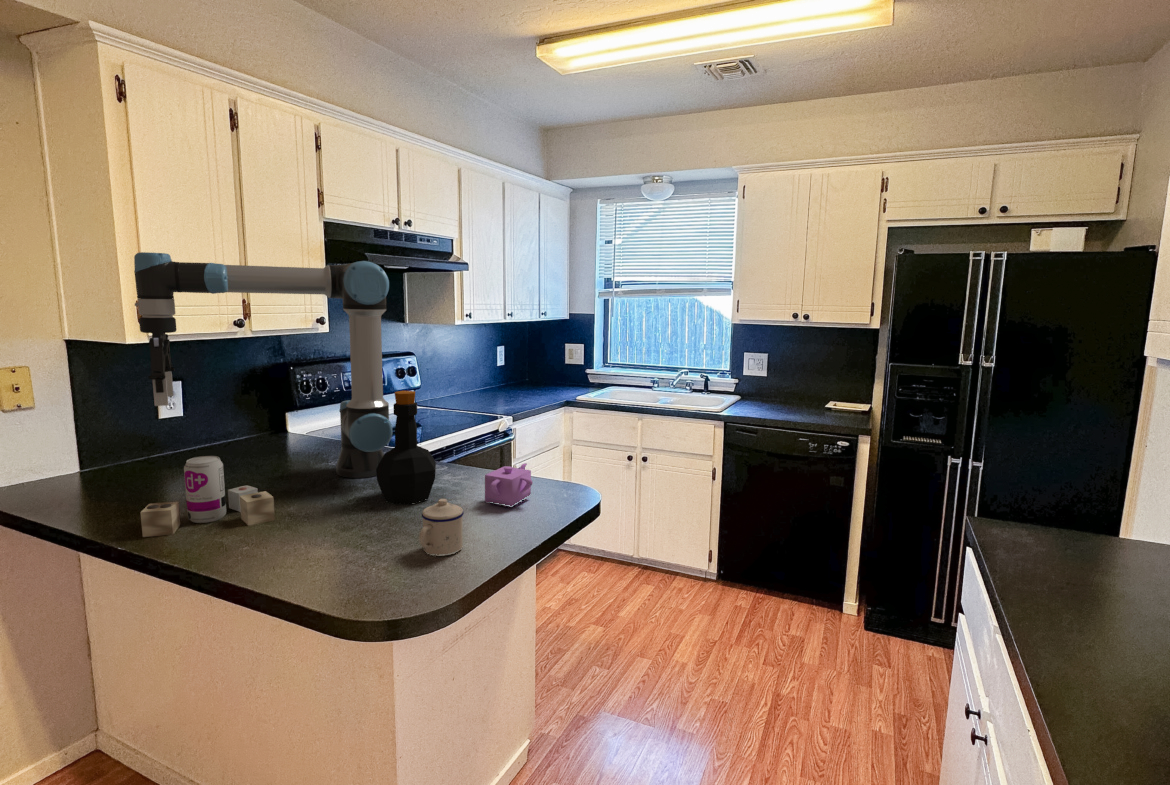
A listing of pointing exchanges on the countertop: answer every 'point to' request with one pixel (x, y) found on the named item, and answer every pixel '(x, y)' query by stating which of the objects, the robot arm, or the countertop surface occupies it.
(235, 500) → the grey plastic block
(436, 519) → the teacup with lid
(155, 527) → the maple block
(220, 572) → the countertop surface
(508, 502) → the teapot
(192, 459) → the supplement can
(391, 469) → the bottle
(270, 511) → the maple block
